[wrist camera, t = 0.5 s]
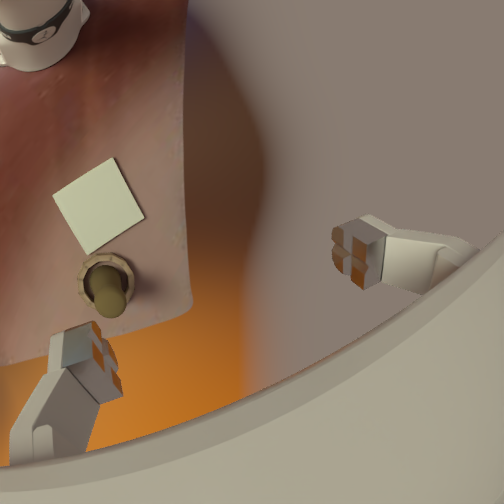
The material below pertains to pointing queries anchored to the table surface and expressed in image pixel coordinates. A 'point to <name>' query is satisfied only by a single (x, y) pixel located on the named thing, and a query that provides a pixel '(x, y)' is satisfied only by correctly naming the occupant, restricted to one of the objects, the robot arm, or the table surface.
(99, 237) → the ceramic tile
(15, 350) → the table surface
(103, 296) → the cork
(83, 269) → the ring
